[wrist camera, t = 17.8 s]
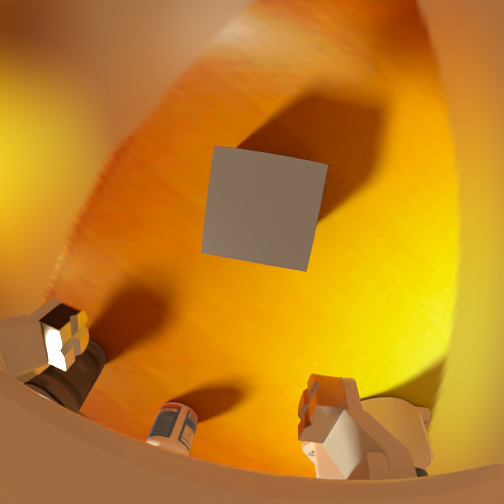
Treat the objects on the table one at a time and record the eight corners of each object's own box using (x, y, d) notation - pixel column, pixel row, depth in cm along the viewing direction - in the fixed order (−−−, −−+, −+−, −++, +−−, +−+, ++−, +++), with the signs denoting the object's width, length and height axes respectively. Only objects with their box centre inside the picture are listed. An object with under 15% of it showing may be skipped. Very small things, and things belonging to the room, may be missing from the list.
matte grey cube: (314, 161, 26) (328, 164, 18) (300, 237, 28) (306, 271, 20) (235, 147, 26) (214, 145, 18) (224, 223, 29) (200, 252, 20)
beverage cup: (108, 333, 34) (14, 448, 15) (121, 378, 36) (50, 490, 18) (65, 325, 35) (-29, 419, 16) (79, 368, 37) (4, 463, 18)
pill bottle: (157, 415, 38) (134, 466, 29) (167, 394, 36) (142, 449, 27) (192, 431, 38) (174, 484, 29) (205, 412, 37) (187, 469, 27)
